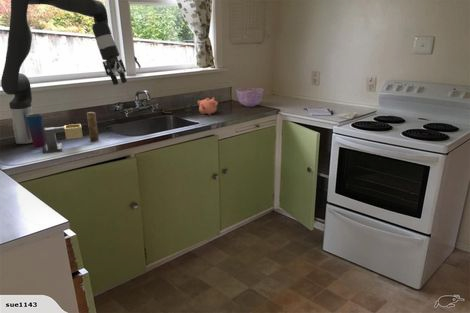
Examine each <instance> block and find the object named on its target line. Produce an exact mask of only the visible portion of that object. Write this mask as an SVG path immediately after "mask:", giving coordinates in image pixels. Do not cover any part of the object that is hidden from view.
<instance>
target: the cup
mask: <svg viewBox="0 0 470 313" xmlns="http://www.w3.org/2000/svg"><path fill="white" fill-rule="evenodd" d="M26 119H27V122H28V126H29V130H30V134H31V138H32V145H33V147H34V148H41V147H42V148H43V145H46V137H45V131H44V129H45V127H44V119H43V114H42V113H33V114H30V115H27V116H26Z"/></svg>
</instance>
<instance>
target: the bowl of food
mask: <svg viewBox="0 0 470 313" xmlns="http://www.w3.org/2000/svg"><path fill="white" fill-rule="evenodd" d="M235 91H236V96H237V100H238V102H239V104H240V105H243V106H244V107H249V108H254V107H256V106H257V105H259V104H261V102H262V99H263V96H264V91H265V88H260V87H239V88H236V89H235Z"/></svg>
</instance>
